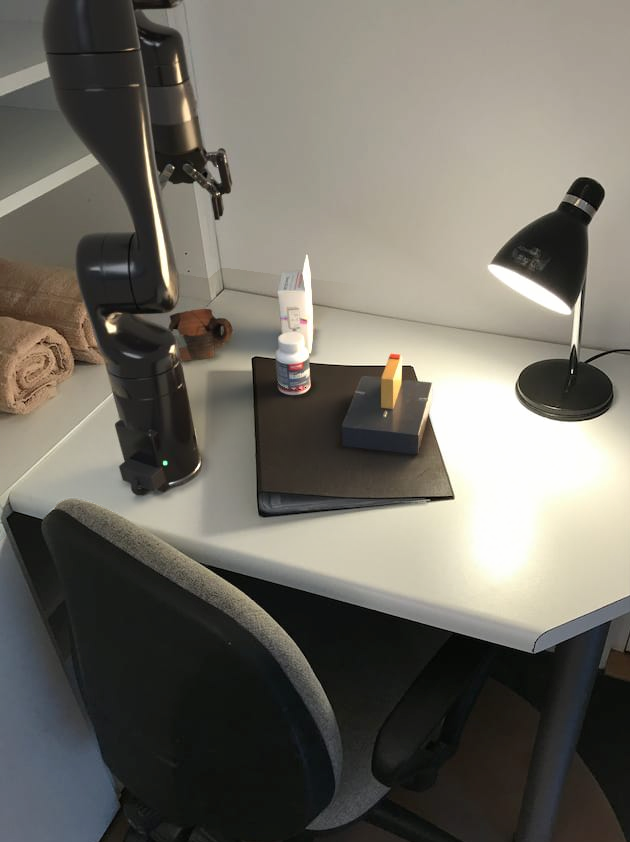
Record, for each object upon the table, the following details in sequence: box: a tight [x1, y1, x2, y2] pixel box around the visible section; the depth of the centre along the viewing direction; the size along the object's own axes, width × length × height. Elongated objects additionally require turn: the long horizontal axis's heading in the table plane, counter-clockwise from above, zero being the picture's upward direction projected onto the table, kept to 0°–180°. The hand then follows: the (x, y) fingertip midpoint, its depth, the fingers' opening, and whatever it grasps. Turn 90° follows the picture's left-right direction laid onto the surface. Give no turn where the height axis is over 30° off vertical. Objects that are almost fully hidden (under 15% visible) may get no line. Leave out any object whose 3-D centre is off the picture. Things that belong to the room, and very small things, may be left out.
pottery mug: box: [168, 308, 234, 362], centre depth 131 cm, size 12×10×8 cm
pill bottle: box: [274, 332, 311, 396], centre depth 119 cm, size 5×5×9 cm
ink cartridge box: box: [276, 254, 314, 354], centre depth 128 cm, size 9×5×15 cm, turn 179°
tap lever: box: [380, 353, 403, 409], centre depth 111 cm, size 7×2×5 cm, turn 168°
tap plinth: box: [341, 375, 433, 455], centre depth 112 cm, size 15×11×4 cm
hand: (191, 218), depth 119 cm, fingers open, 8 cm apart
